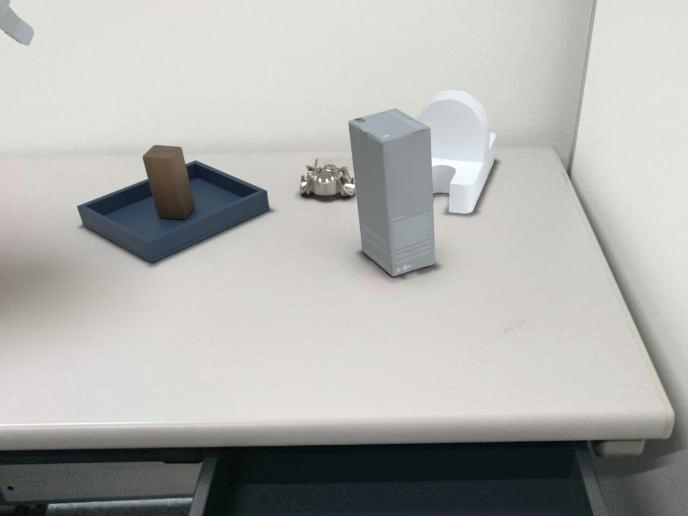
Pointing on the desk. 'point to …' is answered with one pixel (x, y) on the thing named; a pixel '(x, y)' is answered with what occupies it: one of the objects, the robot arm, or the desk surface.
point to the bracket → (459, 147)
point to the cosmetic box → (394, 190)
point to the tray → (173, 234)
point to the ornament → (327, 181)
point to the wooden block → (169, 181)
